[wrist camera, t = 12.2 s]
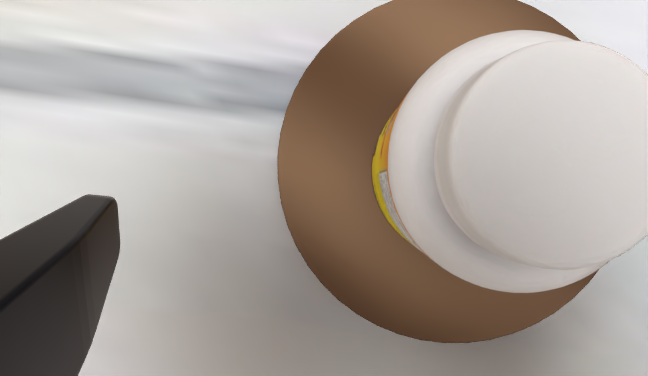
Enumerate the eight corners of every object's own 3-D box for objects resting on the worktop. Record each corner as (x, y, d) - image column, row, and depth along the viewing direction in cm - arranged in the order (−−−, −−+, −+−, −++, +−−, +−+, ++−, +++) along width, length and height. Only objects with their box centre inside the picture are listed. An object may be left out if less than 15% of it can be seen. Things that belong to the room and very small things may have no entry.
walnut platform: (483, 382, 23) (505, 411, 20) (225, 213, 23) (209, 217, 20) (654, 123, 23) (701, 114, 20) (393, -45, 23) (402, -80, 20)
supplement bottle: (490, 62, 20) (649, -66, 10) (560, 211, 20) (790, 234, 10) (340, 132, 20) (348, 75, 10) (409, 280, 20) (487, 373, 10)
